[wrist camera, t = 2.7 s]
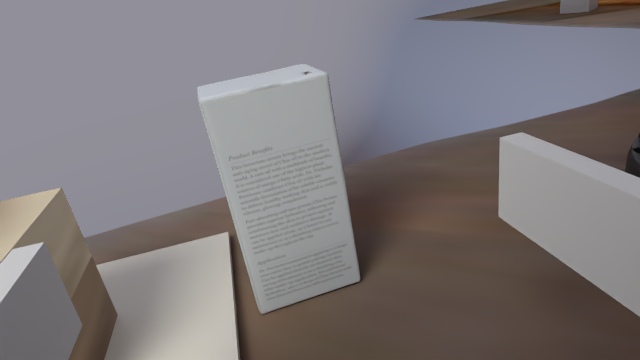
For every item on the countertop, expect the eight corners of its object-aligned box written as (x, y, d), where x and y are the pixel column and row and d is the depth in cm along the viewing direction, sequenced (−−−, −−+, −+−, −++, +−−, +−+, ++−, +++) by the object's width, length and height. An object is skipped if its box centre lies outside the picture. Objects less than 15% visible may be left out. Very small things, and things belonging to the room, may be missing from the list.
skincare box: (337, 247, 28) (306, 61, 24) (362, 283, 24) (331, 71, 20) (246, 275, 27) (194, 84, 22) (258, 318, 23) (197, 99, 18)
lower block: (117, 314, 24) (91, 255, 23) (85, 422, 18) (46, 351, 16) (-17, 351, 23) (-54, 291, 22) (-101, 479, 17) (-162, 408, 15)
